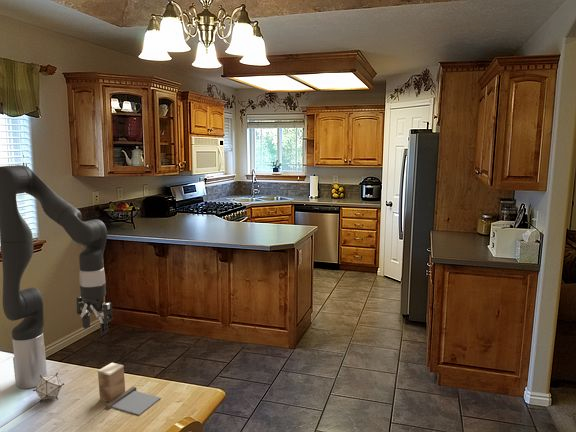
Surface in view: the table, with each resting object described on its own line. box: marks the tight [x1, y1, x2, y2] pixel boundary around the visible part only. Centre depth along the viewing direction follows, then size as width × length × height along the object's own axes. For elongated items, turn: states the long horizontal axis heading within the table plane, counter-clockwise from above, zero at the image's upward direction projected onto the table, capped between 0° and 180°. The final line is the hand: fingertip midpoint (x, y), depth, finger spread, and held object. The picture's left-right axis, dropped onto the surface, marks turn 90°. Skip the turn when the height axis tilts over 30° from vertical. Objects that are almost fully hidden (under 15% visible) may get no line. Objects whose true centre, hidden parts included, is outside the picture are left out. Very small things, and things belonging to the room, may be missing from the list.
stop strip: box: [105, 386, 137, 410], centre depth 145 cm, size 2×12×1 cm, turn 157°
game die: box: [32, 372, 65, 403], centre depth 145 cm, size 9×8×10 cm
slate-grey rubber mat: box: [111, 390, 162, 416], centre depth 142 cm, size 11×10×1 cm
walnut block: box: [97, 362, 126, 403], centre depth 146 cm, size 5×6×10 cm
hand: (95, 330), depth 145 cm, fingers open, 8 cm apart
